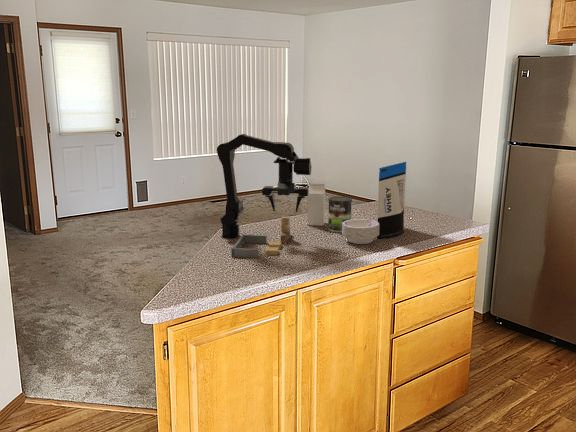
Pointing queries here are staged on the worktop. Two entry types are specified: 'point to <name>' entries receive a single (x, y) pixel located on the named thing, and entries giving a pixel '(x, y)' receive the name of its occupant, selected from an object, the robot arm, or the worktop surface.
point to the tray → (242, 252)
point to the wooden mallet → (285, 229)
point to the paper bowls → (360, 230)
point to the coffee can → (338, 212)
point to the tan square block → (275, 244)
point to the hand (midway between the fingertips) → (285, 211)
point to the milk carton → (316, 204)
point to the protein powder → (391, 200)
